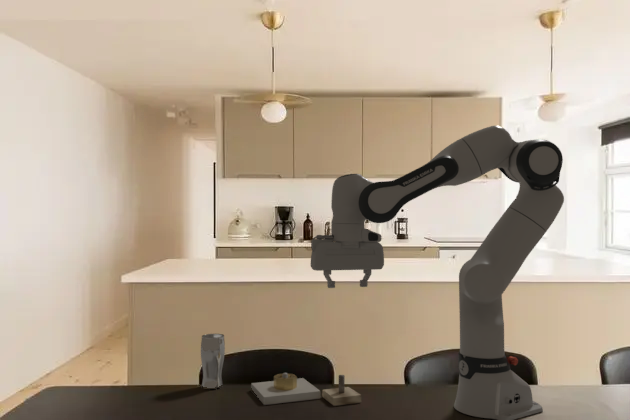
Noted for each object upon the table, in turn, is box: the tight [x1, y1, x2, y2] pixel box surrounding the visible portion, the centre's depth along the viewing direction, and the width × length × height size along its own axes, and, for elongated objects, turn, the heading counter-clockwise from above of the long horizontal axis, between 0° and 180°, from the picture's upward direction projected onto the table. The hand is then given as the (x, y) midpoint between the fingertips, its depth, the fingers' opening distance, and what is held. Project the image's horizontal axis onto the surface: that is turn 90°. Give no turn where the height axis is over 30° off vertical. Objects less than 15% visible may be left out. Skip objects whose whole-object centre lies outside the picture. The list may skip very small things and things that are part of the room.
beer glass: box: [200, 333, 226, 388], centre depth 153 cm, size 7×7×15 cm
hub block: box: [250, 372, 321, 406], centre depth 146 cm, size 16×14×6 cm
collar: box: [273, 372, 298, 390], centre depth 146 cm, size 6×6×3 cm
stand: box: [321, 374, 362, 407], centre depth 142 cm, size 8×8×6 cm
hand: (347, 287), depth 137 cm, fingers open, 8 cm apart
